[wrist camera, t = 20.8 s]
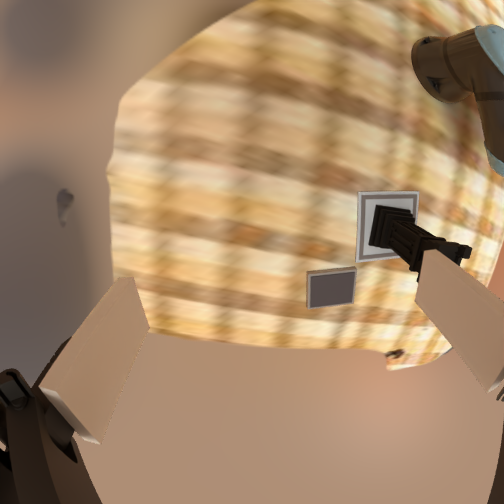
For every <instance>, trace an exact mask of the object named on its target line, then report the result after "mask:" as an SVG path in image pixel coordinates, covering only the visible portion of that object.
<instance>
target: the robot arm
mask: <svg viewBox="0 0 504 504" xmlns="http://www.w3.org/2000/svg"><path fill="white" fill-rule="evenodd" d="M412 63H413V67H414V70H415V73H416V75H417V77H418V79H419V81H420V82H421V84H422V85H423V87H424V88H425V89H426V90H427V91H428V92H429V93H430V94H431V95H432V96H433V97H434V98H436V99H437V100H439V101H442V102H445V103H455V102H459V101H461V100H463V99H464V98H466V97H467V96H469V95H470V94H472V93H473V92H474V94H475V98H476V102H477V106H478V110H479V114H480V118H481V123H482V128H483V133H484V138H485V141H484V145H485V148H486V151H487V156H488V162H489V164H490V166H491V168H492V169H493V170H494V171H495V172H496V173H497V174H499V175H501V176H502V177H504V29H503V28H501V27H499V26H497V25H493V24H491V25H485V26H477V27H475V28H473V29H470V30H467V31H464V32H462V33H459V34H456V35H453V36H451V37H448V38H447V37H435V36H429V37H425V38H422V39H420V40H418V41H417V42H416V43H415V44H414V46H413V49H412ZM480 100H481V101H480ZM415 302H416V303H417V305H418V306H419V307H420V308H421V309H422V310H423V312H424V313H425V314H426V315H427V316H428V317H429V319H430V320H431V321H432V322H433V323H434V324H435V326H436V327H437V328H438V329H439V330H440V332H441V333H442V334H443V335H444V337H445V338H446V339H447V340H448V342H449V343H450V344H451V345H452V347H453V348H454V349H455V350H456V351H457V353H458V354H459V355H460V357H461V358H462V360H463V361H464V362H465V364H466V365H467V366H468V368H469V369H470V370H471V372H472V373H473V375H474V376H475V377H476V379H477V380H478V382H479V383H480V384H481V386H482V387H483V389H484V390H485V392H486V393H488V392H490V391H491V390H493V389H495V388H496V387H498V386H499V384H500V383H501V381H502V380H503V378H504V302H503V301H502V300H501V299H500V298H498V297H497V296H496V295H495V294H494V293H492V292H491V291H490V290H489V289H487V288H486V287H485V286H484V285H483V284H481V283H480V282H479V281H478V280H476V279H475V278H474V277H473V276H471V275H470V274H469V273H467V272H466V271H465V270H464V269H462V268H461V267H460V266H458V265H457V264H456V263H454V262H453V261H451V260H450V259H449V258H447V257H446V256H445V255H443V254H442V253H440V252H439V251H437V250H436V249H435V250H427V251H424V256H423V262H422V268H421V273H420V278H419V283H418V288H417V293H416V297H415ZM149 328H150V327H149V324H148V321H147V318H146V316H145V313H144V310H143V306H142V303H141V300H140V297H139V294H138V291H137V287H136V284H135V280H134V277H123V278H118V279H117V281H116V282H115V283H114V284H113V285H112V287H111V288H110V289H109V290H108V291H107V293H106V294H105V295H104V296H103V298H102V299H101V300H100V301H99V303H98V304H97V305H96V306H95V308H94V309H93V310H92V312H91V313H90V314H89V315H88V317H87V318H86V319H85V320H84V322H83V323H82V325H81V326H80V327H79V329H78V330H77V331H76V333H75V334H74V335H73V337H70V338H69V339H67V340H66V341H65V342H64V343H63V344H61V346H60V347H59V348H58V350H57V351H56V352H55V355H53V357H52V358H51V360H50V363H48V364H47V365H46V367H45V368H44V370H43V371H42V373H41V374H40V376H39V377H38V379H37V380H36V382H35V383H34V385H33V386H32V388H30V387H29V385H28V384H27V382H26V381H25V379H24V378H23V377H22V375H21V374H20V372H19V371H18V370H16V369H12V368H11V369H6V370H4V371H3V372H1V373H0V441H1V442H2V443H3V444H4V445H5V446H6V450H5V451H3V450H2V449H1V448H0V504H102V502H101V500H100V498H99V496H98V494H97V492H96V490H95V488H94V486H93V484H92V481H91V479H90V477H89V474H88V472H87V470H86V467H85V465H84V462H83V459H82V457H81V454H80V452H79V449H78V446H77V443H76V441H75V440H74V438H73V437H72V435H73V433H74V431H76V432H77V433H78V434H79V435H80V436H81V438H82V439H83V440H86V441H90V442H93V443H97V444H102V441H103V438H104V435H105V433H106V430H107V427H108V425H109V422H110V419H111V417H112V414H113V412H114V409H115V407H116V404H117V402H118V399H119V397H120V394H121V392H122V389H123V387H124V384H125V382H126V380H127V377H128V375H129V373H130V371H131V368H132V366H133V363H134V361H135V359H136V357H137V355H138V352H139V350H140V348H141V346H142V343H143V341H144V339H145V337H146V335H147V333H148V330H149ZM503 394H504V387H503V389H502V390H501V392H500V393H499V394H498V396H497V399H496V400H499V399H500V397H501V396H502V395H503ZM501 401H504V397H503V398H502V400H501ZM487 504H504V424H503V434H502V441H501V448H500V454H499V459H498V464H497V469H496V475H495V478H494V482H493V486H492V489H491V493H490V496H489V500H488V503H487Z"/></svg>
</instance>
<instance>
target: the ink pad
mask: <svg viewBox="0 0 504 504" xmlns="http://www.w3.org/2000/svg"><path fill="white" fill-rule="evenodd" d="M356 275H357V269H356V267H347V268H337V269H328V270H318V271H308V272H307V309H314V308H323V307H331V306H338V305H346V304H353V303H354V295H355V286H356Z"/></svg>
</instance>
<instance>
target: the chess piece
mask: <svg viewBox="0 0 504 504" xmlns="http://www.w3.org/2000/svg"><path fill="white" fill-rule="evenodd" d="M414 223H415V218H414V217H413V214H412V213H411V210H409V209H403V208H396V207H390V206H383V205H376V206H375V212H374V217H373V223H372V228H371V233H370V238H369V243H368V245H369V246H375V247H380V248H382V249H391V250H393V251H394V252H395V253H396V254H397V255H398V256H400V257H401V258H402V259H403V260H404V261H405V262H407V263H408V264H409V265H410V267H409V270H410V271H413V272H418V273H419V274H418V278H417V282H418V283H419V278H420V273H421V268H422V262H423V256H424V251H427V250H435V249H436V250H437V251H439V252H440V253H442V254H443V255H445V256H446V257H447V258H449V259H450V260H451V261H453V262H454V263H456V264H457V265H458V266H460V263H461V260H462V258H465V259H469V258H470V255H471V251H472V248H471V247H469V246H468V245H460V244H459V243H456V242H447V241H446V239H445V238H442V237H436V236H434V235H432V234H431V233H429V232H427V231H426V230H424V229H422V228H421V227H419V226H417V225H416V224H414ZM461 257H462V258H461Z"/></svg>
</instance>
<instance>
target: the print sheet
mask: <svg viewBox="0 0 504 504" xmlns="http://www.w3.org/2000/svg"><path fill="white" fill-rule="evenodd" d="M418 203H419V191H367V192H358V218H357V243H356V259H355V262H356V263H357V262H367V261H376V260H385V259H393V258H401V257H400V256H398V255H397V254H396V253H395V252H394V251H393V250H391V249H382V248H380V247H375V246H369V245H368V243H369V238H370V233H371V228H372V223H373V217H374V212H375V206H376V205H383V206H390V207H396V208H403V209H409V210H411V213H412V214H413V217H414V218H415V223H414V224H416V225H417V217H418Z"/></svg>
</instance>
